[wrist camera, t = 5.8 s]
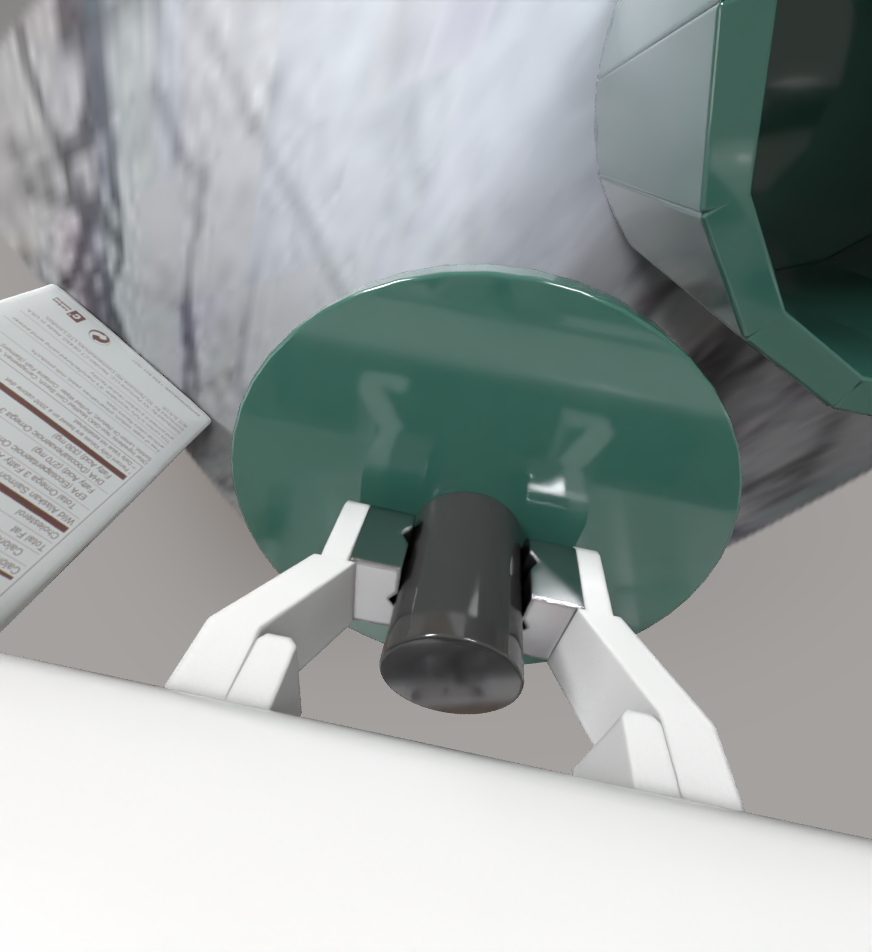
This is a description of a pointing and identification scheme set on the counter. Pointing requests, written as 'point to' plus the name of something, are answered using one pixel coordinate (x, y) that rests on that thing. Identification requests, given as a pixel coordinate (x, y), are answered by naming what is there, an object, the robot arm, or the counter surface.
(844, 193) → the tin
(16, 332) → the white packaging box
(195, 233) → the counter surface
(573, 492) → the lid
